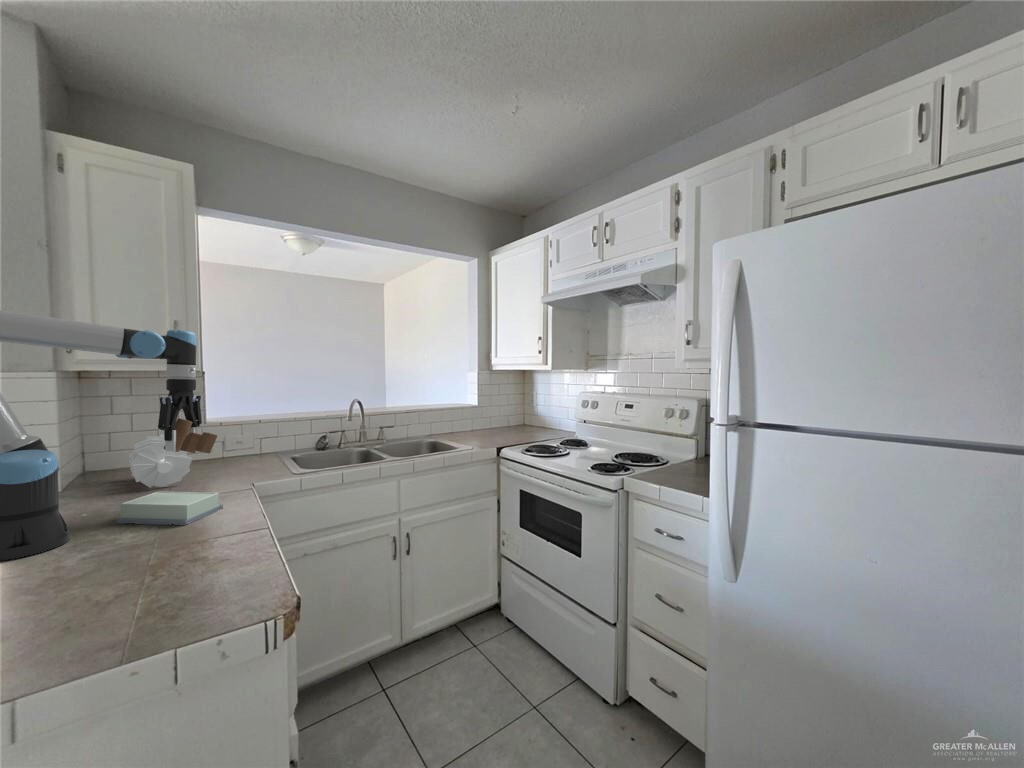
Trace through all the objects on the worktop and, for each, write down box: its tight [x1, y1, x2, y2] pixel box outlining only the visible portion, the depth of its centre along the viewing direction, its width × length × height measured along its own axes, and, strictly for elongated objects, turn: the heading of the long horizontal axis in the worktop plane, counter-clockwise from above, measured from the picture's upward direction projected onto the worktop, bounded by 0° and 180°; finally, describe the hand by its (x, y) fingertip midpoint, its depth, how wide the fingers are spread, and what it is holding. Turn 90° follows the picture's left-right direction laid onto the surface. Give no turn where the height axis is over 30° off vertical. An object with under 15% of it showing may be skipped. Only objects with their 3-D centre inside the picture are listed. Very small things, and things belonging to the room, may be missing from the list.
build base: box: [115, 491, 224, 526], centre depth 124 cm, size 14×21×5 cm, turn 87°
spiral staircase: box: [127, 433, 193, 489], centre depth 160 cm, size 18×18×25 cm
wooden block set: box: [164, 417, 218, 454], centre depth 135 cm, size 18×9×10 cm, turn 69°
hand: (180, 448), depth 134 cm, fingers closed on wooden block set, 7 cm apart
